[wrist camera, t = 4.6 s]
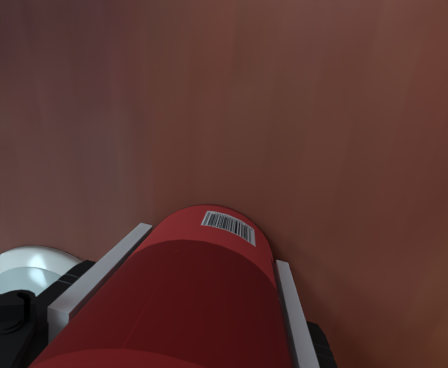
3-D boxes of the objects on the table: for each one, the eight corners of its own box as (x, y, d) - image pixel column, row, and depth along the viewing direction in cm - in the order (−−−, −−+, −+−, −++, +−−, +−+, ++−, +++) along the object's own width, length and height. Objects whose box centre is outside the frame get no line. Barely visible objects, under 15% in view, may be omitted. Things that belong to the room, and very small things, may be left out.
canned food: (135, 218, 14) (-195, 490, 4) (251, 183, 13) (273, 465, 2) (178, 310, 16) (38, 682, 5) (284, 288, 14) (390, 740, 4)
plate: (-10, 345, 19) (-23, 355, 18) (-22, 227, 16) (-37, 233, 15) (117, 383, 19) (111, 396, 18) (134, 270, 15) (127, 279, 14)
